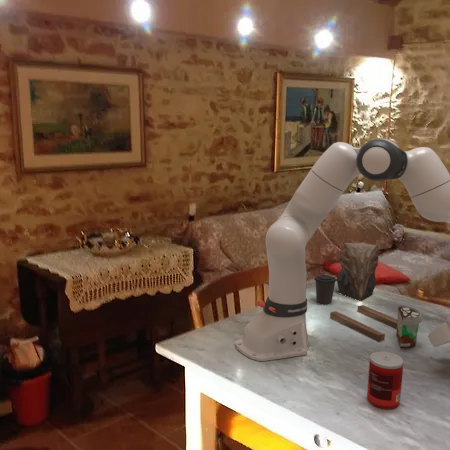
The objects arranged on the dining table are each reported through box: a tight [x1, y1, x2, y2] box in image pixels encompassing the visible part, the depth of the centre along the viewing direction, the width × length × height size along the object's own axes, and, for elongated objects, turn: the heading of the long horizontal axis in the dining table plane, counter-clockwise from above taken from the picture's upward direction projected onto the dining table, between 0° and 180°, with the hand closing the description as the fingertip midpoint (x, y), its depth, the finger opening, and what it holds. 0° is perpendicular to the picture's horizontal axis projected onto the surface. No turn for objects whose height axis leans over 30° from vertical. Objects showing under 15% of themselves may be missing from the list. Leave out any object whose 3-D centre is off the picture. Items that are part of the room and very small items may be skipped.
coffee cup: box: [313, 274, 337, 306], centre depth 192 cm, size 8×8×10 cm
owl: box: [336, 241, 379, 302], centre depth 200 cm, size 13×13×20 cm
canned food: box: [366, 351, 404, 410], centre depth 124 cm, size 8×8×11 cm
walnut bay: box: [329, 304, 398, 343], centre depth 172 cm, size 15×22×2 cm
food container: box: [396, 304, 423, 350], centre depth 157 cm, size 12×6×10 cm, turn 168°
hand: (441, 341), depth 148 cm, fingers closed
